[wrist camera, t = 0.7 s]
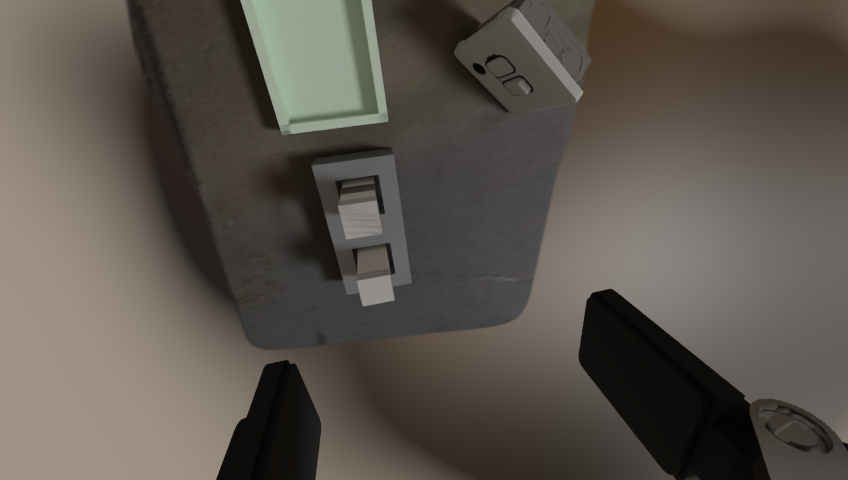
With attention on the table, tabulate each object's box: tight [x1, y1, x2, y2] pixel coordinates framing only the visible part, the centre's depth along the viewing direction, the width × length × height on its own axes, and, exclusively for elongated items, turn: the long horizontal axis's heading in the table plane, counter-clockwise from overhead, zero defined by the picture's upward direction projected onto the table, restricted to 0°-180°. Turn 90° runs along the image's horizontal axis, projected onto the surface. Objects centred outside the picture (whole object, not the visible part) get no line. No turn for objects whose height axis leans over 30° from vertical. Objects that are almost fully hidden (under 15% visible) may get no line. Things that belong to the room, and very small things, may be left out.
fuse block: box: [312, 148, 412, 295], centre depth 36 cm, size 16×8×3 cm, turn 5°
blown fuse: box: [338, 175, 382, 240], centre depth 31 cm, size 3×3×8 cm
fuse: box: [357, 243, 394, 306], centre depth 35 cm, size 3×3×8 cm
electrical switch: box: [454, 0, 592, 115], centre depth 28 cm, size 9×5×9 cm, turn 51°
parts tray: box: [241, 0, 388, 135], centre depth 28 cm, size 12×10×2 cm
